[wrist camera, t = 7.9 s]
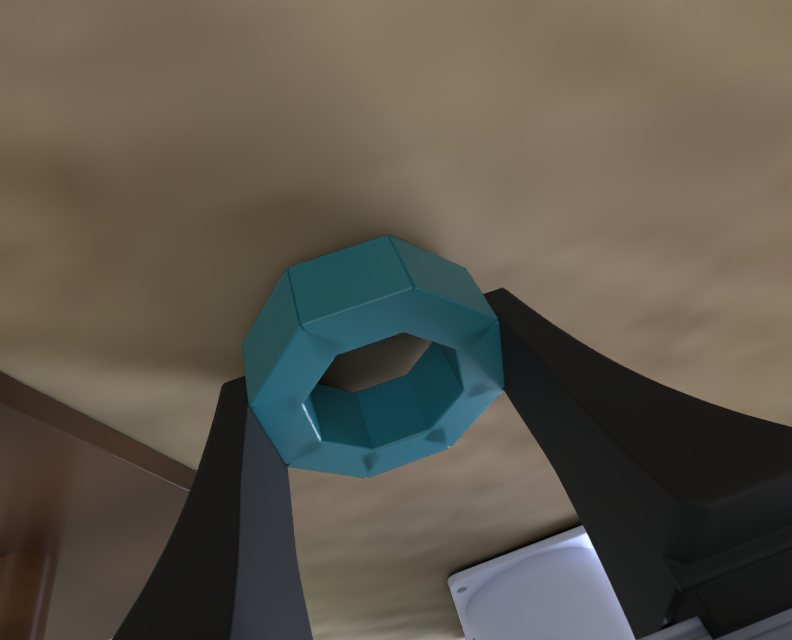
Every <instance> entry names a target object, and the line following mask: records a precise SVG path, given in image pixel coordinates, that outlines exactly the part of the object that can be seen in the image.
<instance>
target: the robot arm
mask: <svg viewBox="0 0 792 640" xmlns="http://www.w3.org/2000/svg"><path fill="white" fill-rule="evenodd" d="M483 296H484V297H485V299H486V300H487V302H488V304H489V305H490V307H491V308H492V310H493V311H494V313H495V315H496V316H497V318H498V321H499V326H500V337H501V349H502V360H503V371H504V383H505V386H504V391H505V392H506V394H507V396H508V397H509V399H510V400H511V402H512V404H513V405H514V407H515V408H516V410H517V411H518V413H519V414H520V416H521V418H522V419H523V421H524V422H525V424H526V425H527V427H528V428H529V430H530V431H531V433H532V435H533V436H534V438H535V439H536V441H537V442H538V444H539V445H540V447H541V448H542V450H543V452H544V453H545V455H546V456H547V458H548V460H549V461H550V463H551V465H552V466H553V468H554V470H555V471H556V473H557V475H558V477H559V479H560V481H561V483H562V485H563V487H564V489H565V491H566V493H567V495H568V497H569V499H570V501H571V502H572V504H573V506H574V508H575V510H576V512H577V515H578V517H579V519H580V521H581V523H582V525H581V526H579V527H576V528H573V529H571V530H568V531H565V532H563V533H560V534H558V535H555V536H552V537H550V538H547V539H544V540H542V541H539V542H537V543H534V544H531V545H529V546H526V547H523V548H521V549H518V550H516V551H513V552H510V553H508V554H505V555H502V556H500V557H497V558H495V559H492V560H489V561H487V562H484V563H481V564H479V565H476V566H474V567H471V568H468V569H466V570H463V571H460V572H458V573H455V574H453V575H452V576H450V577H449V579H448V585H449V588H450V591H451V594H452V597H453V601H454V604H455V607H456V610H457V613H458V616H459V619H460V622H461V625H462V628H463V631H464V634H465V637H466V640H792V427H789V426H786V425H782V424H778V423H774V422H771V421H767V420H763V419H760V418H756V417H752V416H749V415H745V414H742V413H739V412H736V411H732V410H729V409H726V408H723V407H720V406H717V405H714V404H711V403H708V402H706V401H703V400H700V399H698V398H695V397H692V396H690V395H687V394H685V393H682V392H680V391H677V390H675V389H672V388H669V387H667V386H664V385H662V384H660V383H658V382H655V381H653V380H651V379H649V378H647V377H644V376H642V375H640V374H638V373H636V372H634V371H632V370H630V369H628V368H626V367H624V366H622V365H620V364H618V363H616V362H614V361H613V360H611V359H609V358H607V357H605V356H604V355H602V354H600V353H598V352H597V351H595V350H593V349H592V348H590V347H588V346H586V345H585V344H583V343H582V342H580V341H578V340H577V339H575V338H574V337H572V336H571V335H569V334H568V333H566V332H564V331H563V330H561V329H560V328H558V327H557V326H555V325H554V324H552V323H551V322H549V321H548V320H547V319H545V318H544V317H542V316H541V315H540V314H538V313H537V312H535V311H534V310H533V309H531V308H530V307H529V306H527V305H526V304H525V303H523V302H522V301H521V300H519V299H518V298H517V297H515V296H514V295H513V294H511V293H510V292H509V291H508V290H506V289H504V288H500V289H497V290H494V291H491V292H488V293H485V294H483ZM112 640H313V637H312V632H311V627H310V623H309V618H308V613H307V609H306V604H305V599H304V594H303V589H302V584H301V579H300V574H299V569H298V562H297V555H296V548H295V537H294V527H293V517H292V507H291V497H290V487H289V477H288V468H287V466H286V464H284V463H283V461H282V460H281V458H280V456H279V455H278V453H277V452H276V450H275V448H274V447H273V445H272V443H271V442H270V440H269V439H268V437H267V435H266V434H265V432H264V430H263V429H262V427H261V425H260V424H259V422H258V421H257V419H256V417H255V416H254V414H253V412H252V411H251V409H250V406H249V405H248V396H247V387H246V377H245V376H243V377H240V378H237V379H234V380H231V381H228V382H226V383H224V384H223V386H222V387H221V391H220V395H219V399H218V403H217V407H216V411H215V415H214V419H213V422H212V426H211V429H210V433H209V436H208V439H207V443H206V446H205V449H204V452H203V455H202V458H201V461H200V464H199V467H198V470H197V473H196V476H195V478H194V481H193V483H192V486H191V489H190V491H189V494H188V497H187V499H186V502H185V504H184V507H183V509H182V511H181V514H180V516H179V518H178V521H177V523H176V525H175V527H174V529H173V532H172V534H171V536H170V538H169V540H168V542H167V544H166V546H165V548H164V550H163V552H162V554H161V556H160V558H159V560H158V562H157V564H156V566H155V567H154V569H153V571H152V573H151V575H150V577H149V579H148V581H147V582H146V584H145V586H144V588H143V590H142V591H141V593H140V595H139V596H138V598H137V600H136V601H135V603H134V605H133V606H132V608H131V609H130V611H129V613H128V614H127V616H126V617H125V619H124V621H123V622H122V624H121V625H120V627H119V629H118V630H117V632H116V634H115V635H114V637H113V638H112Z"/></svg>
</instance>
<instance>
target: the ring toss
mask: <svg viewBox="0 0 792 640" xmlns="http://www.w3.org/2000/svg"><path fill="white" fill-rule="evenodd" d="M196 473H197V472H196V471H194V470H192V469H190V468H188V467H186V466H184V465H182V464H180V463H178V462H176V461H174V460H172V459H170V458H168V457H166V456H164V455H162V454H160V453H158V452H156V451H154V450H152V449H150V448H148V447H146V446H144V445H142V444H140V443H138V442H136V441H134V440H132V439H130V438H128V437H126V436H125V435H123V434H121V433H119V432H117V431H115V430H113V429H111V428H109V427H107V426H105V425H103V424H101V423H99V422H97V421H95V420H93V419H91V418H89V417H87V416H85V415H83V414H81V413H79V412H77V411H75V410H73V409H71V408H69V407H67V406H65V405H63V404H61V403H59V402H57V401H55V400H53V399H51V398H49V397H48V396H46V395H44V394H42V393H40V392H38V391H36V390H34V389H32V388H30V387H28V386H26V385H24V384H22V383H20V382H18V381H16V380H14V379H12V378H10V377H8V376H6V375H4V374H2V373H0V640H109V639H111V638H113V637H114V635H115V634H116V632H117V630H118V629H119V627H120V625H121V624H122V622H123V621H124V619H125V617H126V616H127V614H128V613H129V611H130V609H131V608H132V606H133V605H134V603H135V601H136V600H137V598H138V596H139V595H140V593H141V591H142V590H143V588H144V586H145V584H146V582H147V581H148V579H149V577H150V575H151V573H152V571H153V569H154V567H155V566H156V564H157V562H158V560H159V558H160V556H161V554H162V552H163V550H164V548H165V546H166V544H167V542H168V540H169V538H170V536H171V534H172V532H173V529H174V527H175V525H176V523H177V521H178V518H179V516H180V514H181V511H182V509H183V507H184V504H185V502H186V499H187V497H188V494H189V491H190V489H191V486H192V483H193V481H194V478H195V476H196Z"/></svg>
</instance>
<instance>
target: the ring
mask: <svg viewBox="0 0 792 640" xmlns="http://www.w3.org/2000/svg"><path fill="white" fill-rule="evenodd" d="M403 332H405V333H408V334H411V335H414V336H417V337H420V338H423V339H426V340H429V341H432V344H431V345H430V346H429V347H428V349H427V350H426V351H425V352H424V354H423V355H422V356H421V357H420V359H419V360H418V361H417V362H416V364H415V365H414V366H413V368H412V369H411V370H410V371H409V373H408V374H407V375H405V376H402V377H399V378H397V379H394V380H391V381H388V382H385V383H382V384H380V385H377V386H374V387H371V388H368V389H365V390H362V391H360V392H357V393H354V392H350V391H346V390H342V389H337V388H333V387H329V386H325V385H321V384H317V382H318V381H319V380H320V378H321V377H322V375H323V374H324V372H325V371H326V369H327V368H328V367H329V365H330V364H331V362H332V361H333V359H334V358H335V357H336V355H339V354H342V353H345V352H348V351H351V350H354V349H357V348H360V347H362V346H365V345H368V344H371V343H374V342H377V341H380V340H383V339H386V338H389V337H391V336H394V335H397V334H400V333H403ZM242 350H243V359H244V368H245V377H246V387H247V396H248V405H249V406H250V409H251V411H252V412H253V414H254V416H255V417H256V419H257V421H258V422H259V424H260V425H261V427H262V429H263V430H264V432H265V434H266V435H267V437H268V439H269V440H270V442H271V443H272V445H273V447H274V448H275V450H276V452H277V453H278V455H279V456H280V458H281V460H282V461H283V463H284V464H286V466H287V467H292V468H299V469H306V470H313V471H320V472H327V473H334V474H340V475H347V476H354V477H361V478H365V477H366V476H367V477H372V476H374V475H377V474H380V473H383V472H385V471H388V470H391V469H394V468H396V467H399V466H402V465H405V464H407V463H410V462H413V461H416V460H419V459H421V458H424V457H427V456H430V455H432V454H435V453H438V452H441V451H443V450H446V449H448V448H449V446H453V445H454V443H455V442H456V441H457V440H458V439H459V438H460V437H461V436H462V435H463V434H464V433H465V431H466V430H467V429H468V428H469V427H470V426H471V425H472V424H473V423H474V422H475V420H476V419H477V418H478V417H479V416H480V415H481V414H482V413H483V412H484V411H485V410H486V408H487V407H488V406H489V405H490V404H491V403H492V402H493V401H494V400H495V399H496V397H497V396H498V395H499V394H500V393H501V392H502V391H503V390H504V386H505V383H504V371H503V360H502V349H501V337H500V326H499V321H498V318H497V316H496V315H495V313H494V311H493V310H492V308H491V307H490V305H489V304H488V302H487V300H486V299H485V297H484V296H483V294H482V293H481V291H480V289H479V288H478V286H477V285H476V283H475V282H474V280H473V279H472V277H471V276H470V274H469V273H468V271H467V270H466V268H464V267H462V266H459V265H457V264H455V263H453V262H450V261H448V260H446V259H443V258H441V257H439V256H437V255H434V254H432V253H430V252H427V251H425V250H423V249H421V248H418V247H416V246H414V245H412V244H409V243H407V242H405V241H402V240H400V239H398V238H396V237H393V236H389V237H388V236H387V235H385V236H382V237H379V238H376V239H373V240H370V241H367V242H364V243H361V244H358V245H355V246H352V247H349V248H346V249H342V250H339V251H336V252H333V253H330V254H327V255H324V256H321V257H318V258H315V259H312V260H309V261H306V262H303V263H300V264H297V265H294V266H291V267H289V268H288V270H285V271H284V273H283V274H282V276H281V278H280V279H279V281H278V283H277V285H276V286H275V288H274V290H273V291H272V293H271V295H270V297H269V298H268V300H267V302H266V303H265V305H264V307H263V309H262V310H261V312H260V314H259V315H258V317H257V319H256V321H255V322H254V324H253V326H252V327H251V329H250V331H249V333H248V334H247V336H246V338H245V339H244V341H243V343H242Z"/></svg>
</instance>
